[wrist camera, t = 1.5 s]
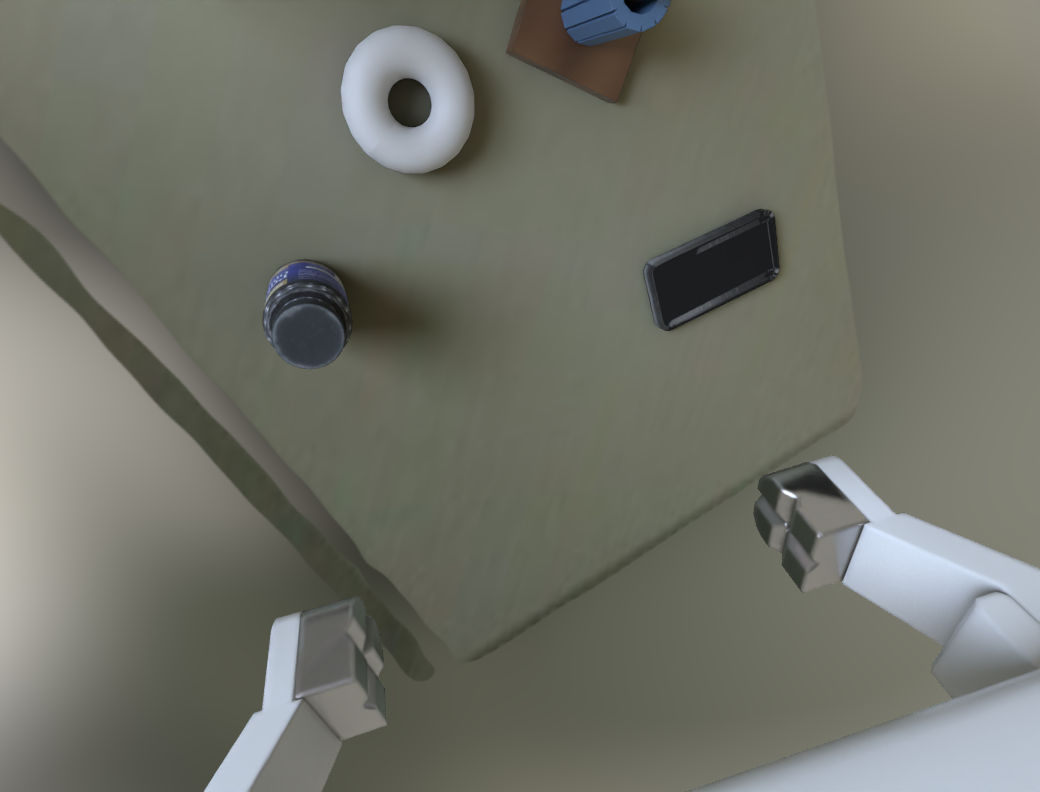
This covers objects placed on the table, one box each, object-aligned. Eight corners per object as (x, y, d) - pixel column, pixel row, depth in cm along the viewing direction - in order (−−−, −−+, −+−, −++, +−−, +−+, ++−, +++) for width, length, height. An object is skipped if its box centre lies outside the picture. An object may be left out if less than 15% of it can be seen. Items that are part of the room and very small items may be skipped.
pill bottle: (273, 250, 45) (266, 282, 36) (351, 267, 48) (364, 302, 39) (262, 323, 47) (253, 371, 38) (338, 336, 50) (347, 385, 40)
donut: (488, 75, 46) (369, -3, 41) (502, 72, 43) (375, -12, 38) (437, 194, 48) (319, 133, 43) (447, 198, 45) (321, 134, 40)
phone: (780, 276, 62) (662, 334, 60) (773, 274, 63) (656, 331, 61) (773, 205, 58) (646, 265, 56) (765, 204, 59) (641, 263, 57)
